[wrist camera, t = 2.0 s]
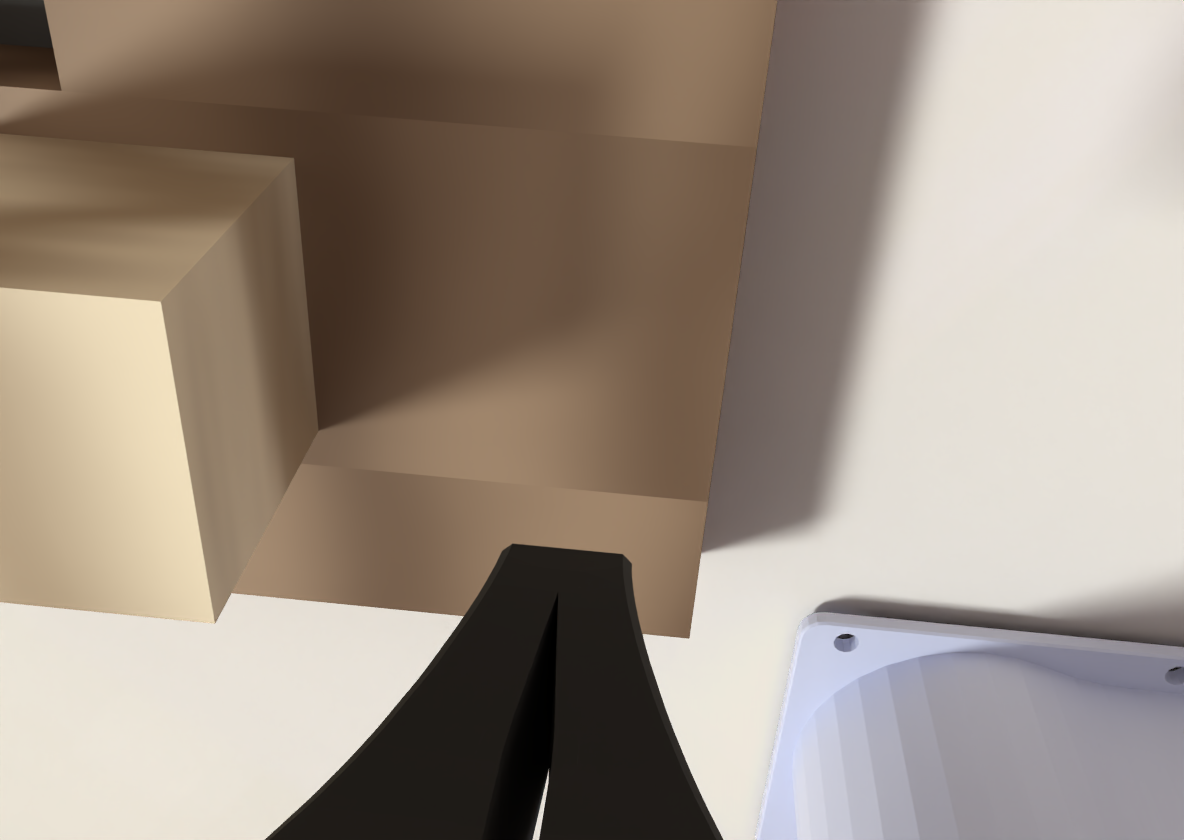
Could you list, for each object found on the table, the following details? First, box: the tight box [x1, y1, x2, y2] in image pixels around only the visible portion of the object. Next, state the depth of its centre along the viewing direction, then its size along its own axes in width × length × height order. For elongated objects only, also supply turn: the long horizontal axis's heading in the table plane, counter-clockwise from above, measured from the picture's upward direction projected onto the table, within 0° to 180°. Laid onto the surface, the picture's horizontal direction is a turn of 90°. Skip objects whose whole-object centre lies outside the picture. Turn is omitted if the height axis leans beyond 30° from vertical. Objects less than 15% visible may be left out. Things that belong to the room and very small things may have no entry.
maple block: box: [0, 134, 319, 624], centre depth 16 cm, size 5×5×5 cm
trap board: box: [0, 0, 777, 638], centre depth 20 cm, size 26×13×2 cm, turn 87°
